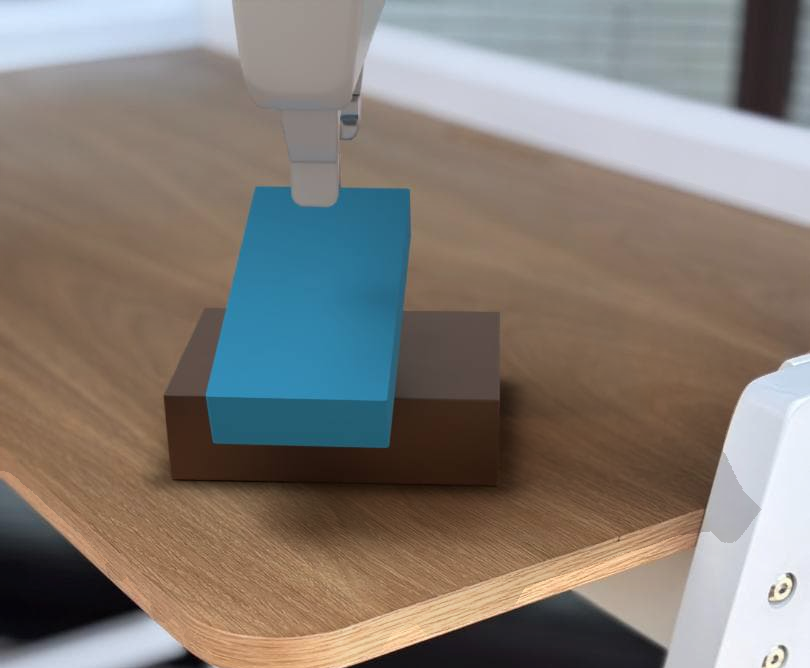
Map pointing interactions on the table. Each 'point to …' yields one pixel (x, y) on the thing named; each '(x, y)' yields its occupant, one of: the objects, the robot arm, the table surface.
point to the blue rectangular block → (313, 322)
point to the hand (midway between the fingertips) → (329, 166)
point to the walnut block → (411, 420)
